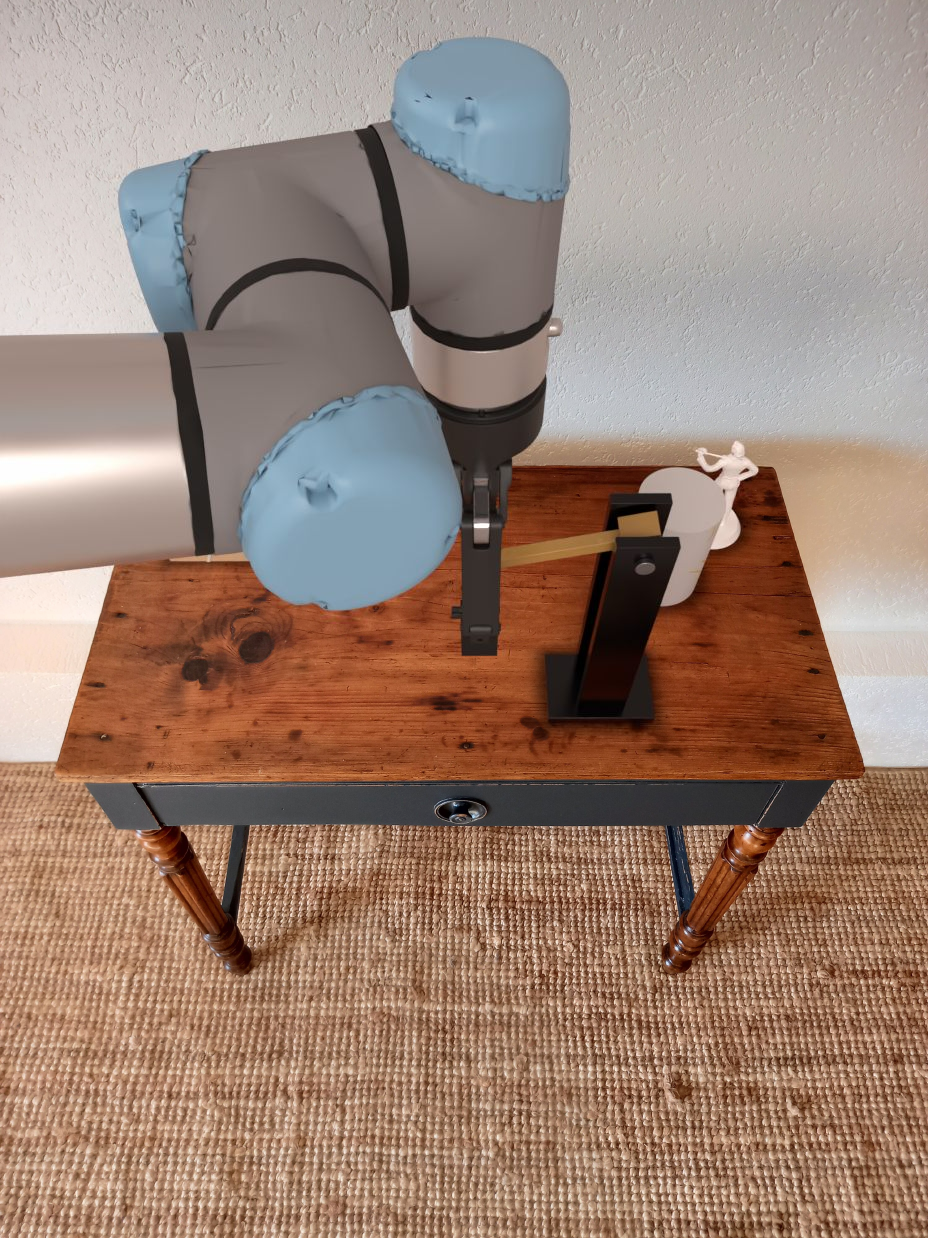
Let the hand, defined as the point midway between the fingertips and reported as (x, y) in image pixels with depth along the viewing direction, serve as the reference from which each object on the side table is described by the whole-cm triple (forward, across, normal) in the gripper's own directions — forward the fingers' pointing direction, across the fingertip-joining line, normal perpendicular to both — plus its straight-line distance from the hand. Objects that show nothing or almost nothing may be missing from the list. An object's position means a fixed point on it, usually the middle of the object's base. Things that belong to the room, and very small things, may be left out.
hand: (478, 594), depth 64 cm
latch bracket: (+17, 0, -12) cm, 20 cm away
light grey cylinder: (+17, +14, -19) cm, 29 cm away
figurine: (+17, +21, -26) cm, 37 cm away
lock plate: (+17, +19, +28) cm, 38 cm away
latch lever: (-5, 0, -6) cm, 8 cm away
